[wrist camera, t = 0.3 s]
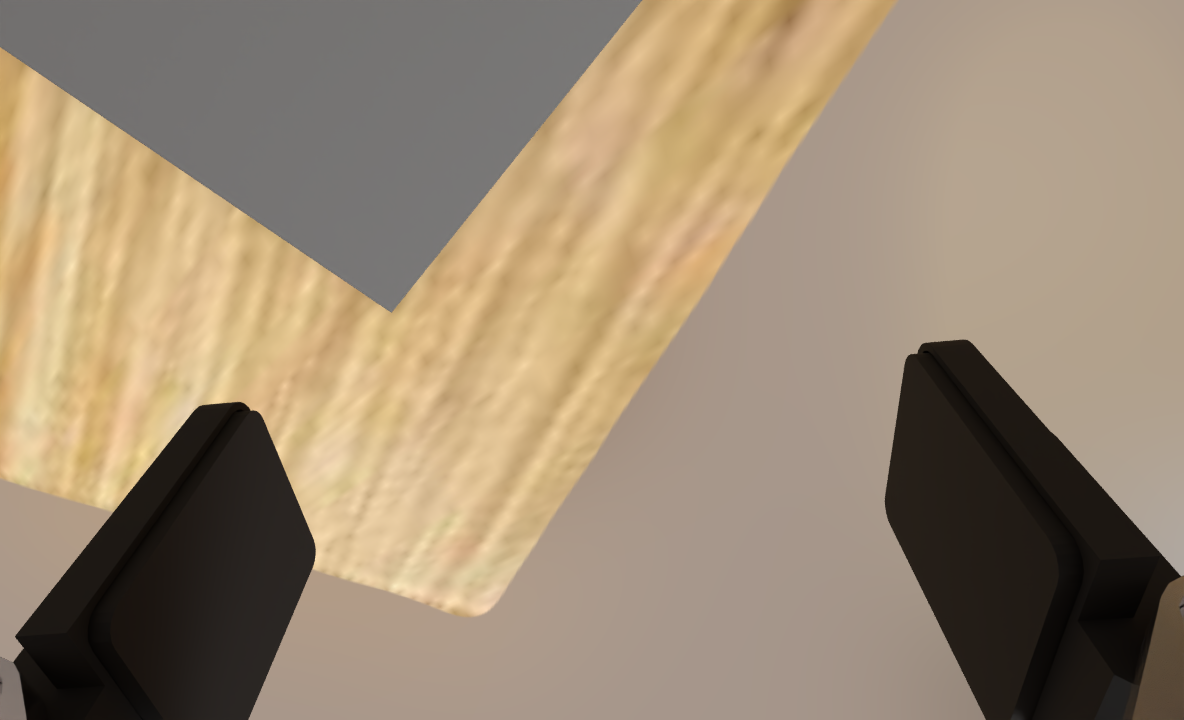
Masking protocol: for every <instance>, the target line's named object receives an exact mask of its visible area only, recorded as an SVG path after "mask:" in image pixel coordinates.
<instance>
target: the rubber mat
mask: <svg viewBox="0 0 1184 720" xmlns="http://www.w3.org/2000/svg"><path fill="white" fill-rule="evenodd" d="M641 1H642V0H0V47H1V48H2V49H4V50H5V51H7V52H8V53H10V54H11V55H13V56H14V57H16V58H17V59H19V60H20V61H22V62H23V63H25V64H26V65H27V66H29V67H30V68H32V69H33V70H35V71H36V72H38V73H39V74H41V75H42V76H44V77H45V78H47V79H48V80H50V81H51V82H53V83H54V84H55V85H57V86H58V87H60V88H61V89H63V90H64V91H66V92H67V93H69V94H70V95H72V96H73V97H75V98H76V99H78V100H79V101H80V102H82V103H83V104H85V105H86V106H88V107H89V108H91V109H92V110H94V111H95V112H97V113H98V114H100V115H101V116H103V117H104V118H106V119H107V120H108V121H110V122H111V123H113V124H114V125H116V126H117V127H119V128H120V129H122V130H123V131H125V132H126V133H128V134H129V135H131V136H132V137H133V138H135V139H136V140H138V141H139V142H141V143H142V144H144V145H145V146H147V147H148V148H150V149H151V150H153V151H154V152H156V153H157V154H159V155H160V156H161V157H163V158H164V159H166V160H167V161H169V162H170V163H172V164H173V165H175V166H176V167H178V168H179V169H181V170H182V171H184V172H185V173H186V174H188V175H189V176H191V177H192V178H194V179H195V180H197V181H198V182H200V183H201V184H203V185H204V186H206V187H207V188H209V189H210V190H212V191H213V192H214V193H216V194H217V195H219V196H220V197H222V198H223V199H225V200H226V201H228V202H229V203H231V204H232V205H234V206H235V207H237V208H238V209H239V210H241V211H242V212H244V213H245V214H247V215H248V216H250V217H251V218H253V219H254V220H256V221H257V222H259V223H260V224H262V225H263V226H265V227H266V228H267V229H269V230H270V231H272V232H273V233H275V234H276V235H278V236H279V237H281V238H282V239H284V240H285V241H287V242H288V243H290V244H291V245H292V246H294V247H295V248H297V249H298V250H300V251H301V252H303V253H304V254H306V255H307V256H309V257H310V258H312V259H313V260H315V261H316V262H318V263H319V264H320V265H322V266H323V267H325V268H326V269H328V270H329V271H331V272H332V273H334V274H335V275H337V276H338V277H340V278H341V279H343V280H344V281H345V282H347V283H348V284H350V285H351V286H353V287H354V288H356V289H357V290H359V291H360V292H362V293H363V294H365V295H366V296H368V297H369V298H371V299H372V300H373V301H375V302H376V303H378V304H379V305H381V306H382V307H384V308H385V309H387V310H388V311H390V312H391V313H392V311H393V310H394V309H395V308H396V306H397V305H398V304H399V303H400V301H401V300H402V299H403V298H404V296H405V295H406V294H407V293H408V291H409V290H410V289H411V288H412V286H413V285H414V284H415V283H416V281H417V280H418V279H419V278H420V276H421V275H422V274H423V273H424V271H425V270H426V269H427V268H428V266H429V265H430V264H431V263H432V261H433V260H434V259H435V258H436V257H437V255H438V254H439V253H440V252H441V250H442V249H443V248H444V247H445V245H446V244H447V243H448V242H449V240H450V239H451V238H452V237H453V235H454V234H455V233H456V232H457V230H458V229H459V228H460V227H461V225H462V224H463V223H464V222H465V220H466V219H467V218H468V217H469V215H470V214H471V213H472V212H473V210H474V209H475V208H476V207H477V205H478V204H479V203H480V202H481V200H482V199H483V198H484V197H485V195H486V194H487V193H488V192H489V190H490V189H491V188H492V187H493V185H494V184H495V183H496V182H497V180H498V179H499V178H500V177H501V175H502V174H503V173H504V172H505V170H506V169H507V168H508V167H509V165H510V164H511V163H512V162H513V161H514V159H515V158H516V157H517V156H518V154H519V153H520V152H521V151H522V149H523V148H524V147H525V146H526V144H527V143H528V142H529V141H530V139H531V138H532V137H533V136H534V134H535V133H536V132H537V131H538V129H539V128H540V127H541V126H542V124H543V123H544V122H545V121H546V119H547V118H548V117H549V116H550V114H551V113H552V112H553V111H554V109H555V108H556V107H557V106H558V104H559V103H560V102H561V101H562V99H563V98H564V97H565V96H566V94H567V93H568V92H569V91H570V89H571V88H572V87H573V86H574V84H575V83H576V82H577V81H578V79H579V78H580V77H581V76H582V74H583V73H584V72H585V71H586V69H587V68H588V67H589V66H590V64H591V63H592V62H593V61H594V60H595V58H596V57H597V56H598V55H599V53H600V52H601V51H602V50H603V48H604V47H605V46H606V45H607V43H608V42H609V41H610V40H611V38H612V37H613V36H614V35H615V33H616V32H617V31H618V30H619V28H620V27H621V26H622V25H623V23H624V22H625V21H626V20H627V18H628V17H629V16H630V15H631V13H632V12H633V11H634V10H635V8H636V7H637V6H638V5H639V3H640V2H641Z"/></svg>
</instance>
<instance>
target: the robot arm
mask: <svg viewBox="0 0 1184 720" xmlns="http://www.w3.org/2000/svg"><path fill="white" fill-rule="evenodd" d="M885 508H886V514H887V518H888V521H889V523H890V525H891V527H892V529H893V531H894V533H895V535H896V538H897V540H898V542H899V544H900V545H901V547H902V550H903V552H904V554H905V556H906V558H907V560H908V562H909V564H910V566H911V568H912V570H913V572H914V574H915V576H916V578H917V580H918V582H919V584H920V586H921V588H922V590H923V593H924V595H925V597H926V599H927V601H928V603H929V604H930V606H931V609H932V611H933V613H934V615H935V617H936V619H937V621H938V623H939V625H940V627H941V629H942V631H943V633H944V635H945V637H946V639H947V641H948V643H949V645H950V648H951V649H952V652H953V654H954V656H955V658H956V660H957V661H958V664H959V666H960V668H961V670H962V672H963V674H964V676H965V678H966V680H967V682H968V684H969V686H970V688H971V690H972V692H973V694H974V696H975V698H976V700H977V702H978V705H979V706H980V708H981V711H982V712H983V714H984V716H985V719H986V720H1184V576H1182V577H1181V576H1180V575H1179V574H1178V572H1177V571H1176V570H1175V569H1174V568H1173V567H1172V566H1171V565H1170V563H1169V562H1168V561H1167V560H1166V559H1165V558H1164V557H1163V556H1162V554H1161V553H1160V552H1159V551H1158V550H1157V549H1156V548H1155V547H1154V545H1153V544H1152V543H1151V542H1150V541H1149V540H1148V539H1147V538H1146V537H1145V535H1144V534H1143V533H1142V532H1141V531H1140V530H1139V529H1138V528H1137V526H1136V525H1135V524H1134V523H1133V522H1132V521H1131V520H1130V519H1129V518H1128V516H1127V515H1126V514H1125V513H1124V512H1123V511H1122V510H1121V509H1120V507H1119V506H1118V505H1117V504H1116V503H1115V502H1114V501H1113V499H1112V498H1111V497H1110V496H1109V495H1108V494H1107V493H1106V492H1105V491H1104V489H1102V487H1101V486H1100V485H1099V484H1098V483H1097V481H1096V480H1095V479H1094V478H1093V477H1092V476H1091V475H1090V474H1089V473H1088V472H1087V470H1086V469H1085V468H1084V467H1083V466H1082V465H1081V464H1080V462H1079V461H1078V460H1077V459H1076V458H1075V457H1074V456H1073V455H1072V453H1071V452H1070V451H1069V450H1068V449H1067V448H1066V447H1065V446H1064V445H1063V443H1062V442H1061V441H1060V440H1059V439H1058V438H1057V437H1056V436H1055V435H1054V434H1053V433H1052V432H1050V431H1049V430H1048V428H1047V427H1046V426H1045V425H1044V424H1043V423H1042V422H1041V420H1039V418H1038V417H1037V416H1036V415H1035V414H1034V413H1033V412H1032V410H1031V409H1030V408H1029V407H1028V406H1027V405H1026V404H1025V403H1024V401H1023V400H1022V399H1021V398H1020V397H1019V396H1018V395H1017V394H1016V392H1015V391H1014V390H1013V389H1012V388H1011V387H1010V386H1009V384H1008V383H1007V382H1006V381H1005V380H1004V379H1003V378H1002V377H1001V375H1000V374H999V373H998V372H997V371H996V370H995V369H994V368H993V366H992V365H991V364H990V363H989V362H988V361H987V360H986V359H985V357H984V356H983V355H982V354H981V353H980V352H979V351H978V350H977V348H976V347H975V346H974V345H973V344H972V343H971V342H970V341H968V340H953V341H943V342H942V341H941V342H930V343H924V344H922V345H921V346H920V348H919V350H918V353H917V354H910V355H909V356H908V357H907V359H906V362H905V366H904V373H903V379H902V386H901V393H900V400H899V406H898V413H897V420H896V427H895V433H894V440H893V447H892V453H891V460H890V467H889V474H888V480H887V487H886V494H885ZM315 552H316V549H315V543H314V539H313V537H312V535H311V532H310V530H309V527H308V525H307V523H306V520H305V518H304V515H303V513H302V511H301V508H300V506H299V504H298V501H297V499H296V496H295V494H294V492H293V489H292V487H291V484H290V482H289V480H288V477H287V475H286V472H285V470H284V468H283V465H282V463H281V460H280V458H279V456H278V453H277V451H276V449H275V446H274V444H273V441H272V439H271V437H270V434H269V432H268V429H267V427H266V425H265V422H264V420H263V418H262V416H261V414H259V413H258V412H257V411H250V409H249V407H248V406H247V405H246V404H244V403H241V402H233V403H221V404H210V405H202V406H199V407H198V408H197V409H196V410H194V412H193V413H192V414H191V415H190V417H189V418H188V419H187V420H186V422H185V423H184V424H183V425H182V427H181V428H180V429H179V431H178V432H177V433H176V434H175V436H174V437H173V438H172V439H171V441H170V442H169V443H168V444H167V446H166V447H165V448H164V449H163V451H162V452H161V453H160V454H159V456H158V457H157V458H156V459H155V461H154V462H153V463H152V465H151V466H150V467H149V468H148V470H147V471H146V472H145V473H144V475H143V476H142V477H141V478H140V480H139V481H138V482H137V483H136V485H135V486H134V487H133V488H132V490H131V491H130V492H129V493H128V495H127V496H126V497H125V498H124V500H123V501H122V502H121V504H120V505H119V506H118V507H117V509H116V510H115V511H114V512H113V514H112V515H111V516H110V517H109V519H108V520H107V521H106V522H105V524H104V525H103V526H102V528H101V529H100V530H99V531H98V533H97V534H96V535H95V536H94V538H93V539H92V540H91V541H90V543H89V544H88V545H87V546H86V548H85V549H84V550H83V551H82V553H81V554H80V555H79V556H78V558H77V559H76V560H75V562H74V563H73V564H72V565H71V566H70V568H69V569H68V570H67V571H66V573H65V574H64V575H63V577H62V578H61V579H60V580H59V582H58V583H57V584H56V585H55V587H54V588H53V589H52V590H51V592H50V593H49V594H48V596H47V597H46V598H45V599H44V600H43V602H42V603H41V604H40V606H39V607H38V608H37V609H36V611H35V612H34V613H33V614H32V616H31V617H30V618H29V619H28V621H27V622H26V623H25V624H24V626H23V627H22V628H21V629H20V631H19V632H18V633H17V634H16V636H15V637H16V639H17V640H18V641H19V642H20V644H21V645H22V646H23V647H24V649H23V650H22V651H21V653H20V654H19V655H18V657H17V658H16V659H15V661H14V662H11V661H9V660H7V659H4V658H2V657H0V720H248V719H249V717H250V714H251V712H252V710H253V707H254V705H255V702H256V700H257V698H258V695H259V693H260V691H261V688H262V686H263V683H264V681H265V679H266V676H267V674H268V672H269V669H270V667H271V664H272V662H273V660H274V658H275V655H276V653H277V650H278V648H279V646H280V643H281V641H282V639H283V636H284V634H285V632H286V629H287V627H288V624H289V622H290V620H291V617H292V615H293V613H294V610H295V608H296V605H297V603H298V601H299V599H300V596H301V594H302V591H303V589H304V587H305V584H306V582H307V579H308V577H309V575H310V572H311V570H312V568H313V565H314V562H315Z"/></svg>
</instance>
